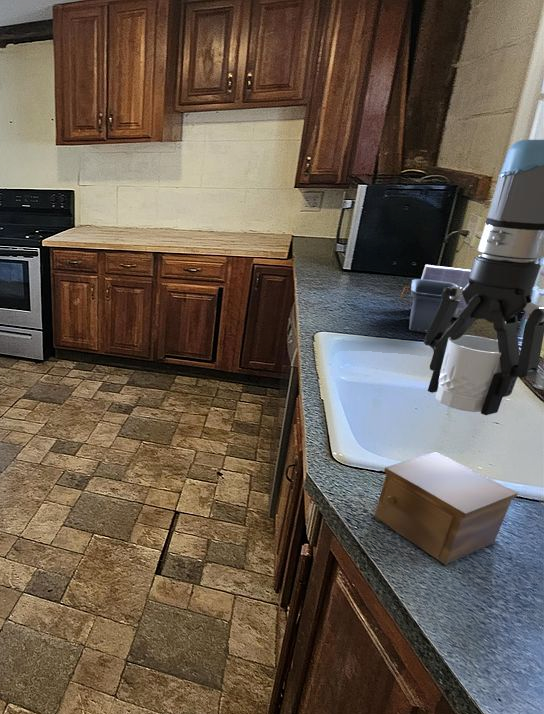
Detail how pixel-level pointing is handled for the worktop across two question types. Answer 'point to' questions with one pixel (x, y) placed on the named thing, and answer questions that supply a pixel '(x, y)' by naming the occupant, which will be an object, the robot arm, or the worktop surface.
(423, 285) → the storage bin
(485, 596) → the worktop surface
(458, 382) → the white cup
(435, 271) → the cake pan box
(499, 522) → the cupboard
